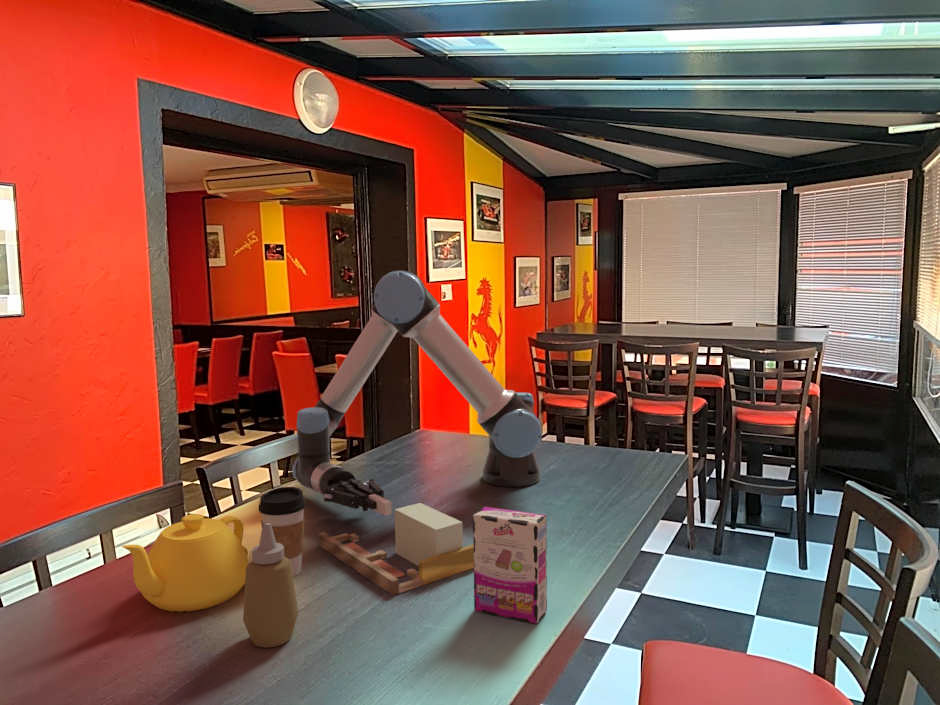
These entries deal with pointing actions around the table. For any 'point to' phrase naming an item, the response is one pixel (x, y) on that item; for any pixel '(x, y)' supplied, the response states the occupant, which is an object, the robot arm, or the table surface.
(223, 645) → the table surface
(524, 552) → the candy bar box
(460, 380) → the robot arm
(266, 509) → the coffee cup
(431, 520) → the brick
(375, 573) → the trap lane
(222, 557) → the teapot
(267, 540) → the squeeze bottle
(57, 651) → the table surface
